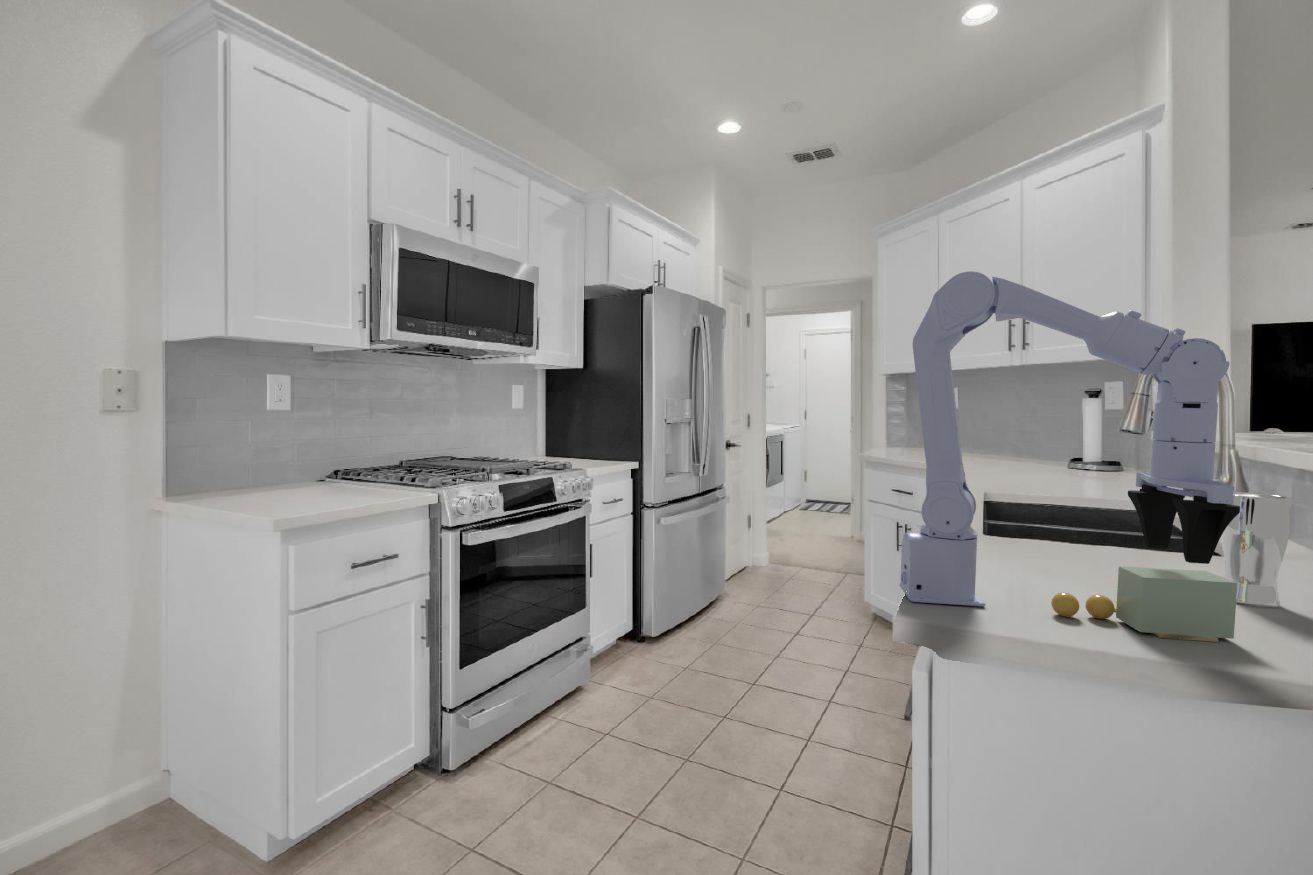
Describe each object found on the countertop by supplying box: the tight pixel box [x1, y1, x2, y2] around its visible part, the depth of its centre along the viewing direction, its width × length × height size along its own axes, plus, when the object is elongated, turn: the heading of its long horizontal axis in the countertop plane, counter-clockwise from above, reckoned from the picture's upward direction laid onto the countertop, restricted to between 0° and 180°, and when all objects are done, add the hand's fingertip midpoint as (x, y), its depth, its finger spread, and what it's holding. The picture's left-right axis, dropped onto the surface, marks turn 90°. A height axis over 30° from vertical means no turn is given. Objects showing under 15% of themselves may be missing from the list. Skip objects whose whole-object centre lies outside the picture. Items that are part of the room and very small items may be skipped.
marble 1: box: [1051, 591, 1080, 618], centre depth 80 cm, size 3×3×3 cm
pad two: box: [1151, 633, 1219, 643], centre depth 75 cm, size 6×6×1 cm
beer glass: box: [1220, 491, 1291, 609], centre depth 87 cm, size 7×7×15 cm
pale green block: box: [1115, 566, 1237, 640], centre depth 75 cm, size 10×5×6 cm, turn 80°
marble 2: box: [1085, 594, 1115, 620], centre depth 79 cm, size 3×3×3 cm
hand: (1175, 554), depth 75 cm, fingers open, 7 cm apart
